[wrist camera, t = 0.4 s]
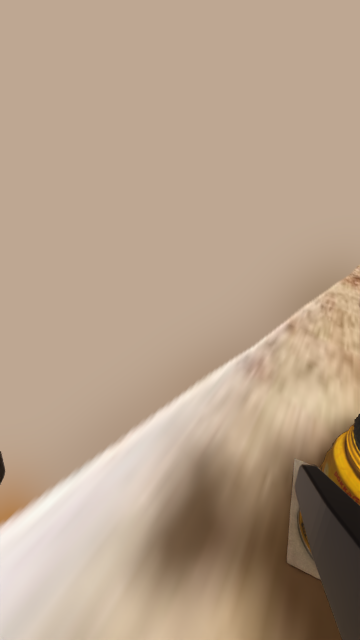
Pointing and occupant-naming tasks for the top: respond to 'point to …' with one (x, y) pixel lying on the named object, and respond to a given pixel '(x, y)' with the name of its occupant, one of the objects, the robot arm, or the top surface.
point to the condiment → (342, 468)
